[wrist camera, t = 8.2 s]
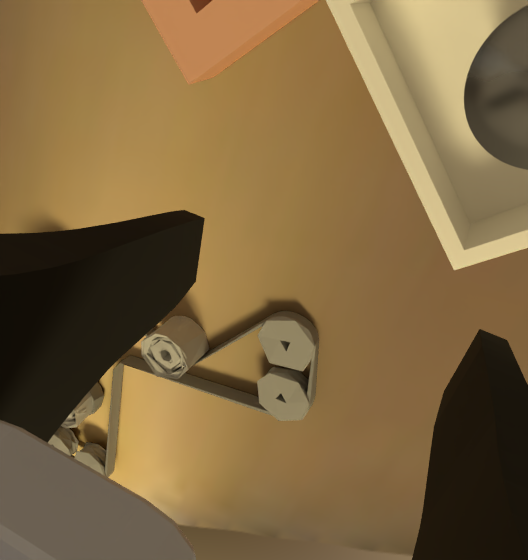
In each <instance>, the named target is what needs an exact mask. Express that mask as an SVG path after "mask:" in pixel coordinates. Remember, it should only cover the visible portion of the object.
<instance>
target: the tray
mask: <svg viewBox="0 0 528 560" xmlns="http://www.w3.org/2000/svg"><path fill="white" fill-rule="evenodd" d="M326 1H327V4H328V6H329V8H330V10H331V12H332V14H333V16H334V18H335V20H336V22H337V25H338V27H339V29H340V31H341V33H342V35H343V37H344V39H345V41H346V44H347V46H348V48H349V50H350V52H351V54H352V56H353V58H354V60H355V63H356V65H357V67H358V69H359V71H360V73H361V75H362V77H363V79H364V81H365V84H366V86H367V88H368V90H369V92H370V94H371V96H372V98H373V100H374V103H375V105H376V107H377V109H378V111H379V113H380V115H381V117H382V119H383V122H384V124H385V126H386V128H387V130H388V132H389V134H390V136H391V138H392V140H393V143H394V145H395V147H396V149H397V151H398V153H399V155H400V157H401V159H402V162H403V164H404V166H405V168H406V170H407V172H408V174H409V176H410V178H411V181H412V183H413V185H414V187H415V189H416V191H417V193H418V195H419V197H420V200H421V202H422V204H423V206H424V208H425V210H426V212H427V214H428V216H429V218H430V221H431V223H432V225H433V227H434V229H435V231H436V233H437V235H438V237H439V240H440V242H441V244H442V246H443V248H444V250H445V252H446V254H447V256H448V259H449V261H450V263H451V265H452V267H453V269H454V270H457V269H460V268H463V267H466V266H470V265H473V264H476V263H479V262H483V261H486V260H489V259H492V258H496V257H499V256H502V255H505V254H509V253H512V252H515V251H518V250H522V249H525V248H528V170H526V169H521V168H517V167H514V166H511V165H508V164H506V163H504V162H502V161H500V160H498V159H497V158H495V157H493V156H492V155H491V154H490V153H488V152H487V151H486V150H485V149H484V148H483V147H482V146H481V145H480V144H479V142H478V141H477V140H476V138H475V137H474V135H473V133H472V131H471V129H470V127H469V125H468V122H467V119H466V114H465V109H464V88H465V83H466V78H467V75H468V72H469V69H470V66H471V64H472V62H473V59H474V57H475V55H476V54H477V52H478V50H479V49H480V47H481V46H482V44H483V43H484V41H485V40H486V39H487V38H488V36H489V35H490V34H491V33H492V31H493V30H494V29H495V28H496V27H497V26H498V25H499V24H500V23H501V22H502V21H503V20H505V19H506V18H507V17H508V16H510V15H511V14H512V13H514V12H515V11H517V10H519V9H520V8H522V7H524V6H526V5H528V0H326Z"/></svg>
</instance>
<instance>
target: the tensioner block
mask: <svg viewBox="0 0 528 560" xmlns="http://www.w3.org/2000/svg"><path fill="white" fill-rule="evenodd" d="M141 1H142V3H143V4H144V6H145V8H146V10H147V11H148V13H149V15H150V17H151V19H152V20H153V22H154V24H155V26H156V27H157V29H158V31H159V33H160V35H161V36H162V38H163V40H164V42H165V43H166V45H167V47H168V49H169V51H170V52H171V54H172V56H173V58H174V59H175V61H176V63H177V65H178V67H179V68H180V70H181V72H182V74H183V75H184V77H185V79H186V81H187V83H188V84H192V83H196V82H199V81H203V80H206V79H210V78H213V77H215V76H216V75H217V74H219V73H220V72H221V71H223V70H224V69H226V68H227V67H228V66H230V65H231V64H232V63H234V62H235V61H237V60H238V59H239V58H241V57H242V56H244V55H245V54H246V53H248V52H249V51H250V50H252V49H253V48H255V47H256V46H257V45H259V44H260V43H261V42H263V41H264V40H266V39H267V38H268V37H270V36H271V35H272V34H274V33H275V32H277V31H278V30H279V29H281V28H282V27H283V26H285V25H286V24H288V23H289V22H290V21H292V20H293V19H294V18H296V17H297V16H299V15H300V14H301V13H303V12H304V11H305V10H307V9H308V8H310V7H311V6H312V5H314V4H315V3H317V2H318V1H319V0H141Z"/></svg>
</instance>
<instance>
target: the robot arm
mask: <svg viewBox="0 0 528 560" xmlns="http://www.w3.org/2000/svg"><path fill="white" fill-rule="evenodd" d="M203 225H204V218H203V217H200V216H198V215H195V214H193V213H190V212H188V211H185V210H181V211H173V212H167V213H162V214H156V215H152V216H147V217H142V218H137V219H132V220H127V221H122V222H117V223H111V224H105V225H99V226H93V227H87V228H81V229H74V230H65V231H55V232H43V233H19V234H0V560H196V557H195V552H194V549H193V546H192V544H191V543H190V542H189V540H188V539H187V538H186V536H185V535H184V534H183V532H182V531H181V530H180V528H179V527H178V525H177V524H176V523H175V521H173V520H172V519H171V518H170V517H168V516H167V515H166V514H164V513H163V512H162V511H160V510H159V509H158V508H157V507H155V506H154V505H153V504H151V503H150V502H149V501H147V500H146V499H144V498H142V497H141V496H139V495H137V494H135V493H134V492H132V491H130V490H128V489H127V488H125V487H123V486H122V485H120V484H118V483H116V482H115V481H113V480H111V479H109V478H108V477H106V476H104V475H102V474H101V473H99V472H97V471H96V470H94V469H92V468H90V467H89V466H87V465H85V464H83V463H82V462H80V461H78V460H76V459H75V458H73V457H71V456H69V455H68V454H66V453H64V452H63V451H61V450H59V449H57V448H56V447H54V446H52V445H50V444H49V443H48V442H49V440H50V439H51V438H52V436H53V435H54V434H55V432H56V431H57V430H58V429H59V427H60V426H61V425H62V423H63V422H64V421H65V420H66V419H67V417H68V416H69V415H70V414H71V413H72V411H73V410H74V409H75V408H76V406H77V405H78V404H79V403H80V402H81V400H82V399H83V398H84V397H85V396H86V394H87V393H88V392H89V391H90V390H91V389H92V387H93V386H94V385H95V384H96V383H97V382H98V381H99V379H100V378H101V377H102V376H103V375H104V374H105V373H106V371H107V370H108V369H109V368H110V367H111V366H112V365H113V364H114V363H115V362H116V361H117V360H118V359H119V358H120V357H121V356H122V355H124V354H125V353H126V352H127V351H128V350H129V349H130V348H131V347H132V346H133V345H135V344H136V343H137V342H138V341H139V340H140V339H141V338H142V337H143V336H144V335H146V334H147V333H148V332H149V331H150V330H151V329H152V328H153V327H154V326H155V325H157V324H158V323H159V322H160V321H161V320H162V319H163V318H164V317H165V316H166V315H167V314H168V313H169V312H170V311H172V310H173V309H174V308H175V307H176V305H177V304H178V303H179V302H180V301H181V299H182V298H183V297H184V296H185V295H186V293H187V292H188V291H189V289H190V288H191V287H192V285H193V284H194V283H195V282H196V275H197V268H198V261H199V254H200V247H201V240H202V233H203ZM412 560H528V385H527V383H526V381H525V378H524V376H523V374H522V372H521V370H520V368H519V365H518V363H517V361H516V359H515V357H514V354H513V352H512V350H511V348H510V345H509V343H508V341H507V340H505V339H503V338H500V337H498V336H496V335H493V334H491V333H488V332H486V331H483V330H481V329H479V331H478V333H477V335H476V336H475V338H474V340H473V342H472V343H471V345H470V347H469V349H468V350H467V352H466V354H465V356H464V357H463V359H462V361H461V363H460V364H459V366H458V368H457V370H456V371H455V373H454V375H453V377H452V378H451V380H450V382H449V383H448V385H447V387H446V389H445V390H444V393H443V397H442V400H441V404H440V407H439V411H438V414H437V418H436V422H435V425H434V431H433V438H432V446H431V453H430V461H429V468H428V476H427V484H426V491H425V499H424V507H423V513H422V519H421V524H420V529H419V533H418V537H417V542H416V546H415V550H414V554H413V558H412Z"/></svg>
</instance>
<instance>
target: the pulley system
mask: <svg viewBox="0 0 528 560" xmlns="http://www.w3.org/2000/svg"><path fill="white" fill-rule="evenodd" d="M262 326H263V327H262ZM260 327H262V329H261V330H260V332H259V334H258V338H259V340H260V342H261V345H262V347H263V349H264V352H265V354H266V356H267V358H268V361H269V363H272V364H275V365H279V366H283V367H287V368H291V369H285V368H279V367H272V368H271V369H270V370H269V371H268V373H267V374H266V375H265V376H264V377H263V378H261V379H260V380H258V381H257V385H258V395H259V397H258V396H255V395H251V394H248V393H245V392H242V391H239V390H236V389H233V388H230V387H227V386H224V385H221V384H218V383H215V382H211V381H208V380H205V379H202V378H199V377H196V376H193V375H190V374H187V373H185V372H186V371H187V370H188V369H189V368H190V367H192V366H193V365H195V364H196V363H198V362H200V361H202V360H203V359H205V358H207V357H209V356H211V355H212V354H214V353H216V352H218V351H219V350H221V349H223V348H225V347H226V346H228V345H230V344H232V343H233V342H235V341H237V340H239V339H240V338H242V337H244V336H246V335H248V334H249V333H251V332H253V331H255V330H256V329H258V328H260ZM145 336H146V338H145V339H144V340H143V341H142V342H141V345H142V356H143V358H144V359H145V360H144V359H141V358H138V357H134V356H131V355H130V356H128V357H127V358H125V359H123V360H122V361H121V362H120V363H119V364H118V365H117V366H116V367H115V368H114V369H113V381H112V393H111V405H110V416H109V428H108V440H107V451H106V450H105V449H104V448H103V447H101V446H100V445H99V444H94V443H88V442H86V444H85V446H84V448H83V449H81V450H80V452H79V451H77V448H78V443H79V442H78V440H77V438H76V437H75V435H74V433H73V431H72V430H70V429H69V428H73V427H77V426H78V425H79V424H80V423H81V422H82V421H83V420H84V419H85V418H86V417H87V416H88V415H91V414H93V413H95V412H96V411H97V410H98V409H99V407H100V406H101V405H102V401H103V398H104V394H103V392H102V387H101V386H100V384H99V383H98V382H97V383H96V384H95V385H94V386H93V387H92V389H91V390H90V391H89V392H88V393H87V394H86V396H85V397H84V398H83V399H82V400H81V402H80V403H79V404H78V405H77V406H76V408H75V409H74V410H73V411H72V413H71V414H70V415H69V416H68V417H67V419H66V420H65V421H64V422H63V423H62V425H61V426H60V427H59V429H58V430H57V431H56V432H55V434H54V435H53V436H52V438H51V439H50V440H49V442H48V443H49V444H50V445H52V446H54V447H56V448H57V449H59V450H61V451H63V452H64V453H66V454H68V455H69V456H71V457H73V458H75V459H76V460H78V461H80V462H82V463H83V464H85V465H87V466H89V467H90V468H92V469H94V470H96V471H97V472H99V473H101V474H102V475H104V476H106V477H109V476H110V475H111V474H112V473H113V471H114V466H115V455H116V444H117V433H118V422H119V411H120V400H121V389H122V378H123V367H124V365H127V366H130V367H133V368H136V369H139V370H142V371H145V372H147V373H150V374H153V375H156V376H157V377H162V378H165V379H168V380H171V381H173V382H176V383H179V384H182V385H185V386H188V387H191V388H194V389H197V390H199V391H202V392H205V393H208V394H211V395H214V396H217V397H220V398H223V399H226V400H228V401H231V402H234V403H237V404H240V405H243V406H246V407H249V408H252V409H254V410H257V411H260V412H263V413H266V414H269V415H272V416H274V417H275V418H276V419H277V420H278V421H288V420H303V418H304V417H305V415H306V414H307V412H308V410H309V409H310V407H311V406H312V404H313V402H314V399H315V393H316V379H317V364H318V349H319V337H318V332H317V330H316V328H315V327H314V326H313V324H312V323H311V322H310V321H309V320H308V319H306V318H305V317H303V316H302V315H300V314H297V313H294V312H291V311H280V312H277V313H274V314H272V315H270V316H269V317H267V318H265V319H264V320H262V321H260V322H259V323H257V324H256V325H254V326H252V327H250V328H249V329H247V330H245V331H244V332H242V333H240V334H238V335H237V336H235V337H233V338H231V339H230V340H228V341H226V342H224V343H223V344H221V345H219V346H217V347H216V348H214V349H212V350H210V351H209V352H207V351H208V350H209V345H208V341H207V337H206V333H205V332H204V331H203V330H202V328H201V327H200V326H199V325H198V324H197V323H195V322H194V321H193V320H192V319H191V318H188V317H186V316H173V317H171V318H170V319H169V320H167V321H166V322H165V323H164V324H163V325H162V326H160V327H159V328H158V329H157V330H154V329H151V330H150V331H149V332H148V333H147V334H146V335H145ZM206 352H207V353H206ZM311 358H312V359H311ZM310 361H311V367H310V375H309V380H308V379H307V378H306V377H305V376H304V375H303V374H302V373H300V372H299V371H304V369H305V368H306V367H307V365H308V364H309V362H310ZM292 369H295V370H292ZM298 370H299V371H298ZM76 451H77V452H76ZM75 452H76V455H75V456H73V455H72V454H74V453H75Z"/></svg>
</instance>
